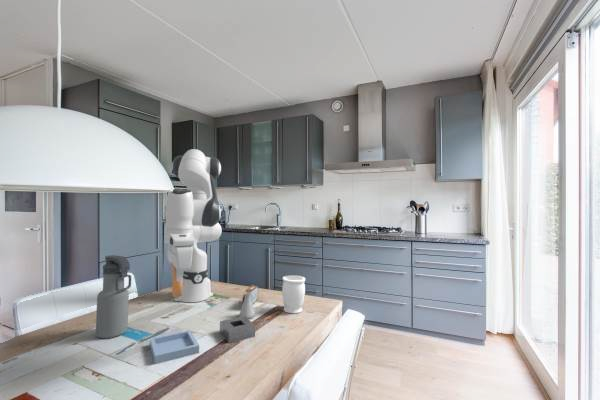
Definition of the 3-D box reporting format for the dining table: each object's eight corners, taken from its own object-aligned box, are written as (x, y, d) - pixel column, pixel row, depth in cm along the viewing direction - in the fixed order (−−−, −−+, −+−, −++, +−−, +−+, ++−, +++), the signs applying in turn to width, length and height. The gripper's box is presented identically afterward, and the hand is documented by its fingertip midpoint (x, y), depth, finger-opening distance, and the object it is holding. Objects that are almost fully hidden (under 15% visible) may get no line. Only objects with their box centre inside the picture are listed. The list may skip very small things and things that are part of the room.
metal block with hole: (219, 331, 110) (219, 321, 110) (244, 326, 115) (244, 316, 115) (228, 343, 101) (229, 331, 101) (254, 336, 107) (255, 325, 107)
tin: (253, 299, 147) (253, 282, 147) (259, 299, 146) (259, 283, 146) (241, 310, 132) (242, 291, 132) (247, 310, 132) (248, 292, 132)
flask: (252, 320, 121) (252, 296, 121) (235, 318, 123) (236, 294, 123) (257, 313, 128) (258, 291, 128) (242, 312, 130) (243, 289, 130)
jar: (306, 307, 138) (307, 276, 138) (302, 315, 128) (303, 281, 128) (284, 305, 140) (285, 274, 140) (279, 313, 129) (280, 279, 130)
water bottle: (134, 329, 109) (137, 255, 109) (111, 341, 100) (114, 260, 100) (113, 325, 112) (115, 253, 112) (88, 336, 103) (91, 257, 103)
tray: (149, 345, 98) (149, 338, 98) (189, 336, 105) (190, 329, 105) (154, 364, 87) (155, 356, 87) (199, 352, 94) (199, 345, 94)
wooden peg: (169, 295, 97) (170, 262, 97) (182, 293, 99) (183, 261, 99) (171, 298, 93) (172, 264, 94) (185, 296, 96) (186, 263, 96)
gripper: (163, 234, 103) (162, 273, 103) (174, 241, 86) (173, 288, 86) (182, 233, 107) (180, 271, 107) (196, 240, 90) (194, 285, 90)
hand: (177, 278), depth 96 cm, fingers closed on wooden peg, 4 cm apart
